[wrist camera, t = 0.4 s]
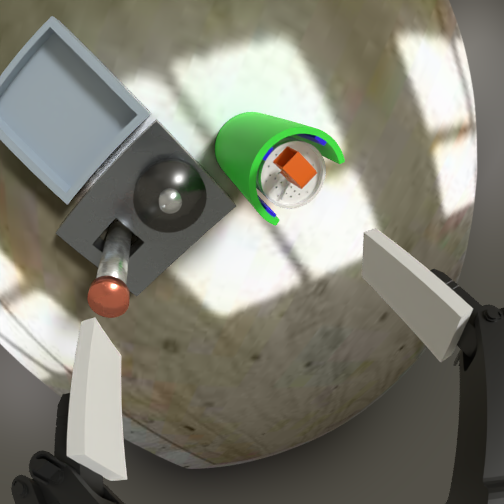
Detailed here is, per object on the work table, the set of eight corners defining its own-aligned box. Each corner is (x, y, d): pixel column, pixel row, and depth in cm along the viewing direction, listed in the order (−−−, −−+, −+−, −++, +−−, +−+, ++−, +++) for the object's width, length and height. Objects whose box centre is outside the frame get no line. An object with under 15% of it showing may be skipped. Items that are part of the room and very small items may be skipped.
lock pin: (99, 233, 36) (79, 301, 24) (118, 212, 35) (103, 275, 23) (121, 251, 38) (112, 324, 26) (141, 231, 37) (137, 300, 26)
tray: (-13, 110, 22) (-24, 112, 20) (59, 21, 20) (52, 15, 18) (73, 196, 32) (67, 204, 30) (151, 113, 30) (150, 114, 28)
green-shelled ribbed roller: (252, 189, 39) (316, 259, 24) (200, 160, 35) (236, 217, 20) (291, 133, 37) (381, 169, 22) (241, 98, 33) (312, 106, 18)
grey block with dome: (61, 223, 33) (47, 247, 28) (156, 119, 31) (155, 124, 26) (137, 283, 41) (136, 313, 35) (230, 197, 39) (244, 217, 33)
